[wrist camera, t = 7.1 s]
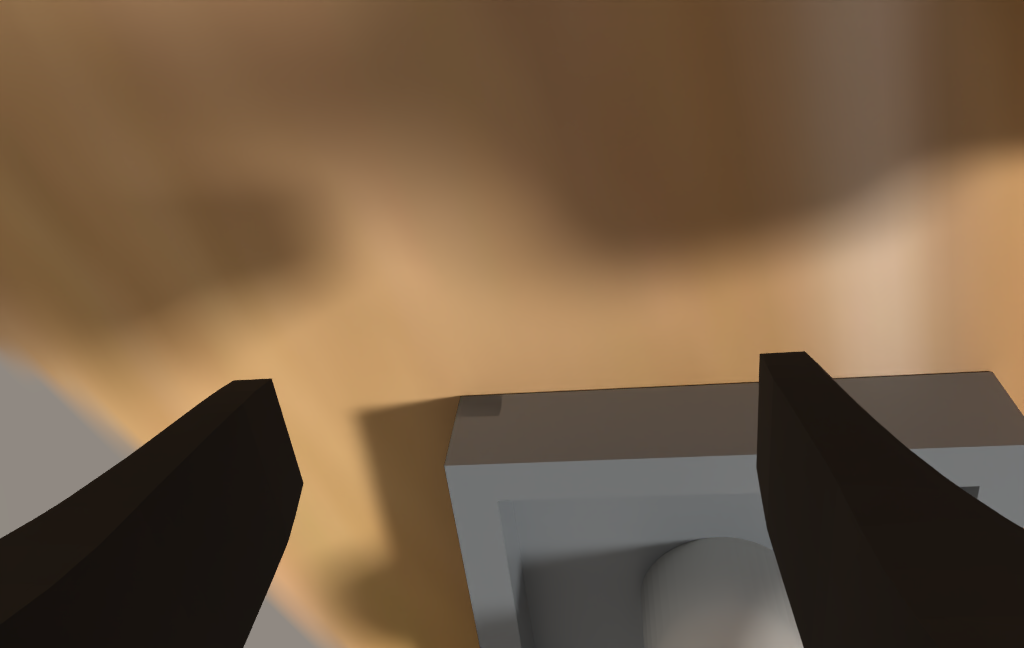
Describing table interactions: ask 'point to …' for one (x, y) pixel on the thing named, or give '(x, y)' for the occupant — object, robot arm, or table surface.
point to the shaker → (717, 598)
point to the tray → (663, 488)
